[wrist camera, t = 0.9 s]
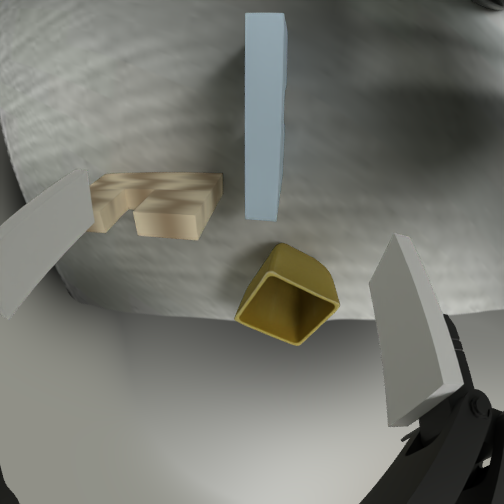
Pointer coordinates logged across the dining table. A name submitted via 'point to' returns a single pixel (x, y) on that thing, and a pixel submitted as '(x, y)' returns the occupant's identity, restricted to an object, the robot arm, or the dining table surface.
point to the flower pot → (289, 296)
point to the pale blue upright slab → (264, 112)
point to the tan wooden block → (157, 202)
